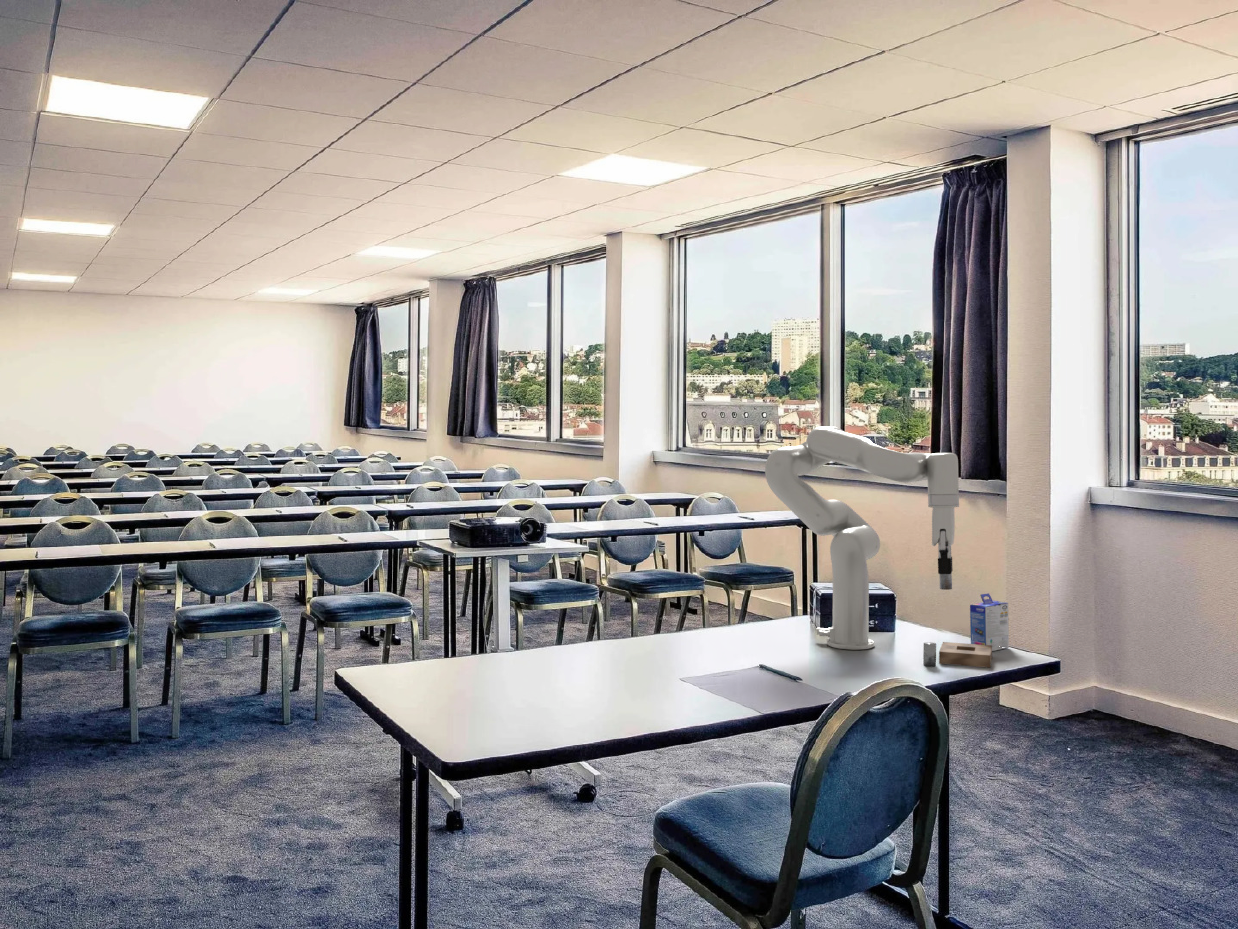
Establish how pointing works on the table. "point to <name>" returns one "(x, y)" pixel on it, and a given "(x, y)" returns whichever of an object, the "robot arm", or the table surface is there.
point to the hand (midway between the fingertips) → (945, 572)
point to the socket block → (965, 654)
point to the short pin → (929, 654)
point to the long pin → (946, 578)
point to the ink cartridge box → (989, 623)
